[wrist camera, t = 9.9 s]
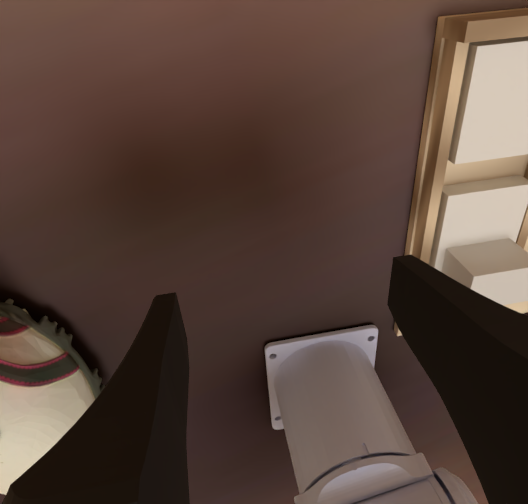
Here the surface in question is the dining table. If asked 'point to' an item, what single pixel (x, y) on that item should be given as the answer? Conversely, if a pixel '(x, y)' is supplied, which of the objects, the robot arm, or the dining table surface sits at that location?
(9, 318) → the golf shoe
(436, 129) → the lane board
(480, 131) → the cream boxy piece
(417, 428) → the dining table surface
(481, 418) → the robot arm
